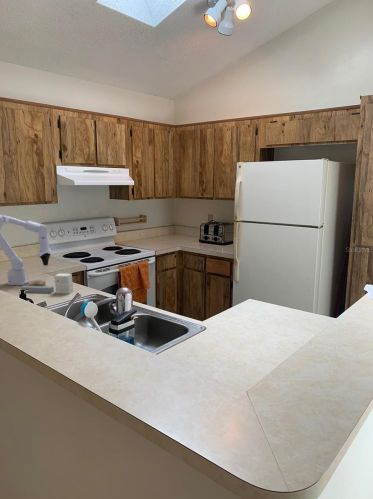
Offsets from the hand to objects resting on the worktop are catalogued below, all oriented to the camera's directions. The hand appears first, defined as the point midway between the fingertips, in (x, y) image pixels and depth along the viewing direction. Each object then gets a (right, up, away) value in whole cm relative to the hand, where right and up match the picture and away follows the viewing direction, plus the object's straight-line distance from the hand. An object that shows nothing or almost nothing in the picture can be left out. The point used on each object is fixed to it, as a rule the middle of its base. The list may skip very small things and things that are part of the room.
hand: (45, 265), depth 239 cm
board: (+3, -14, -22) cm, 26 cm away
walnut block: (+1, -14, -16) cm, 21 cm away
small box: (+19, -15, -23) cm, 33 cm away
